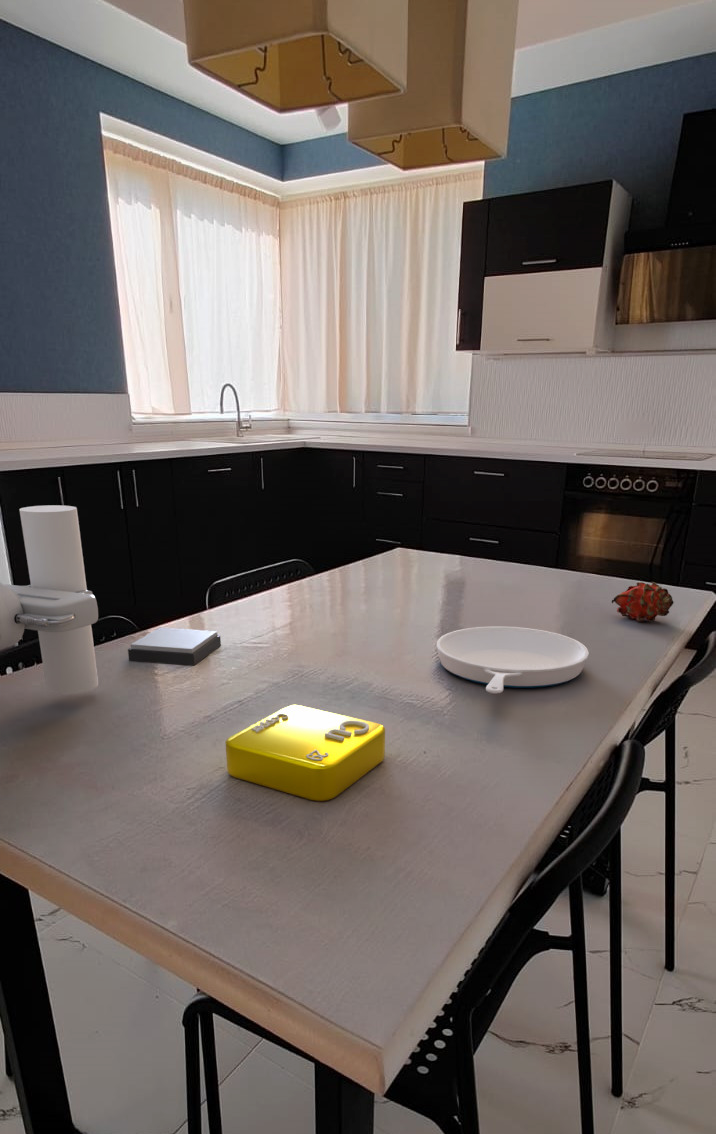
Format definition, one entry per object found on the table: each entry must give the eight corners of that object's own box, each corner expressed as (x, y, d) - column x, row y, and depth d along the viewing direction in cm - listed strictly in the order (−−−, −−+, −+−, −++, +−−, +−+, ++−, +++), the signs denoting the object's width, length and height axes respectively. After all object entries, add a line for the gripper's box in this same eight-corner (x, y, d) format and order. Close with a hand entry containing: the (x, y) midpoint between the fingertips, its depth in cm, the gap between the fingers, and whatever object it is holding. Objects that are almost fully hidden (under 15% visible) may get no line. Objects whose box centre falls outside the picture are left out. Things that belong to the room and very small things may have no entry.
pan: (587, 652, 138) (590, 627, 136) (583, 731, 104) (587, 700, 103) (449, 640, 144) (450, 616, 142) (403, 711, 111) (404, 681, 109)
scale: (128, 660, 131) (126, 644, 130) (159, 641, 142) (158, 626, 141) (194, 665, 129) (193, 649, 128) (221, 645, 140) (220, 630, 139)
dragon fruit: (673, 631, 157) (612, 633, 162) (674, 600, 161) (614, 602, 166) (673, 603, 150) (609, 606, 155) (674, 571, 154) (612, 575, 159)
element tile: (292, 732, 103) (291, 698, 101) (390, 756, 96) (391, 721, 94) (220, 774, 91) (217, 737, 90) (326, 806, 84) (326, 766, 83)
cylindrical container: (94, 675, 117) (72, 504, 107) (102, 690, 111) (80, 510, 101) (44, 681, 114) (17, 506, 104) (49, 697, 108) (21, 513, 98)
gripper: (50, 599, 91) (123, 577, 103) (-79, 583, 98) (4, 564, 110) (57, 650, 94) (128, 623, 105) (-69, 631, 100) (11, 607, 112)
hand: (63, 593), depth 108 cm, fingers closed on cylindrical container, 7 cm apart
